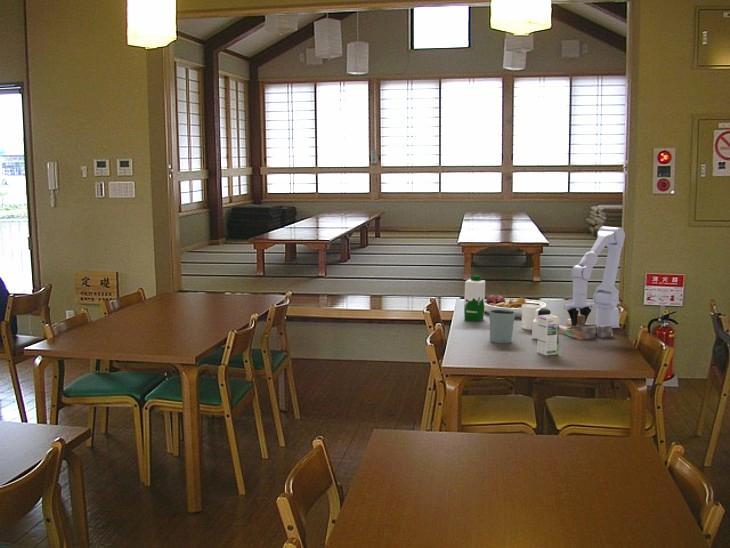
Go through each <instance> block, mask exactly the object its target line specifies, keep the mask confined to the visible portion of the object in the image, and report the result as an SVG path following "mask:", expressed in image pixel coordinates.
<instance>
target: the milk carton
mask: <svg viewBox="0 0 730 548" xmlns="http://www.w3.org/2000/svg"><path fill="white" fill-rule="evenodd" d="M485 300H486V280H483V279H482V276H481V275H476V274H475V275H473V274H472V275H471V279H466V281H464V303H463V305H464V306H463V309H464V312H463V314H464V315H463V316H464V317H463V319H464V321H466V322H468V321H469V322H477V323H478V322H481V321H483V320H484V316H485V310H484V306H485Z"/></svg>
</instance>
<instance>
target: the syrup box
mask: <svg viewBox="0 0 730 548" xmlns="http://www.w3.org/2000/svg"><path fill="white" fill-rule="evenodd" d="M559 325H560V316H558V315H555V314H551V313H550V315H539V316H538V339H537V342H536V343H537V346H536V347H537V348H536V352H537V353H538V354H540V355H542V356H543V355H544V356H552V355H559V346H560V345H559V343H560V342H559V340H560V338H559V335H560V333H559Z"/></svg>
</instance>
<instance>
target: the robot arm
mask: <svg viewBox="0 0 730 548" xmlns="http://www.w3.org/2000/svg"><path fill="white" fill-rule="evenodd" d="M625 237H626V233H625V229H624V228H622V227H621V226H620V227H614V226H605V225H603V226H601V227H600V228H599V230H598V231H597V239H596V240H595V242H594V244H593V245H592V247H591V249H590V251H586V252H585V254H584V255H583V257H582V258H581V259H580V261H579V262H578V264H576V265H575V266H573V267H572V269H571V272H570V276H571V279H572V283H573V284H572V285H573V287H572V289H573V290H572V302H571V303H566V304H563V309H564V310H566V311H567V312H568V314H569V315H568V316H569V319H571V323H572V325H573V326H576V325H577V317H578V314H581V315H585V323H587V319H588V317H589V315H590V313H592V309H594V308H595V307H596V314H595V315H596V317H595V318H596V319H595V324H597V326H599V325H611V326H612V329H616V328H617V329H618V328H621V326H620V310H619V308H618V307H617V306H618V305H619V301H620V298H619V297H620V296H619V294H620V291H619V290H618V289H617V288H616V287H615V284H616V279H617V274H618V268H619V264H620V259H621V254H622V248H624V243H625ZM605 247H607V249H608V252H607V256H606V261H605V262H606V263H605V266H604V272H603V276H602V281H601V284H599V285H598V286H596V288H595V292H594V294H593V297H592V300H593V302H587V300H588V281H589V279H590V278H591V276H592V271H593V267H594V266H595V265H596V263H597V262H598V260H599V258H598V255H600V254H601V252H602V250H603V249H605ZM578 309H579V310H578Z"/></svg>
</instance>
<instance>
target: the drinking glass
mask: <svg viewBox="0 0 730 548" xmlns="http://www.w3.org/2000/svg"><path fill="white" fill-rule="evenodd" d="M488 314H489V341H490V342H492V343H495V344H496V343H498V344H508V343H512V339H513V331H514V323H515V312H514V311H510V310H490V311H489V313H488Z"/></svg>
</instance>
